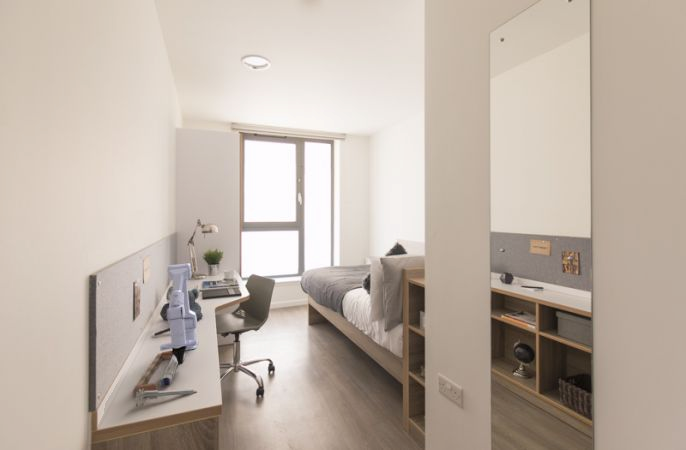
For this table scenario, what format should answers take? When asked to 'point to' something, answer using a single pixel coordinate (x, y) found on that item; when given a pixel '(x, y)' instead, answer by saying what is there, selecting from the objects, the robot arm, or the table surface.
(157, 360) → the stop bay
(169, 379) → the white tube
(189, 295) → the koala plush
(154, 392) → the caliper
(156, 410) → the table surface
